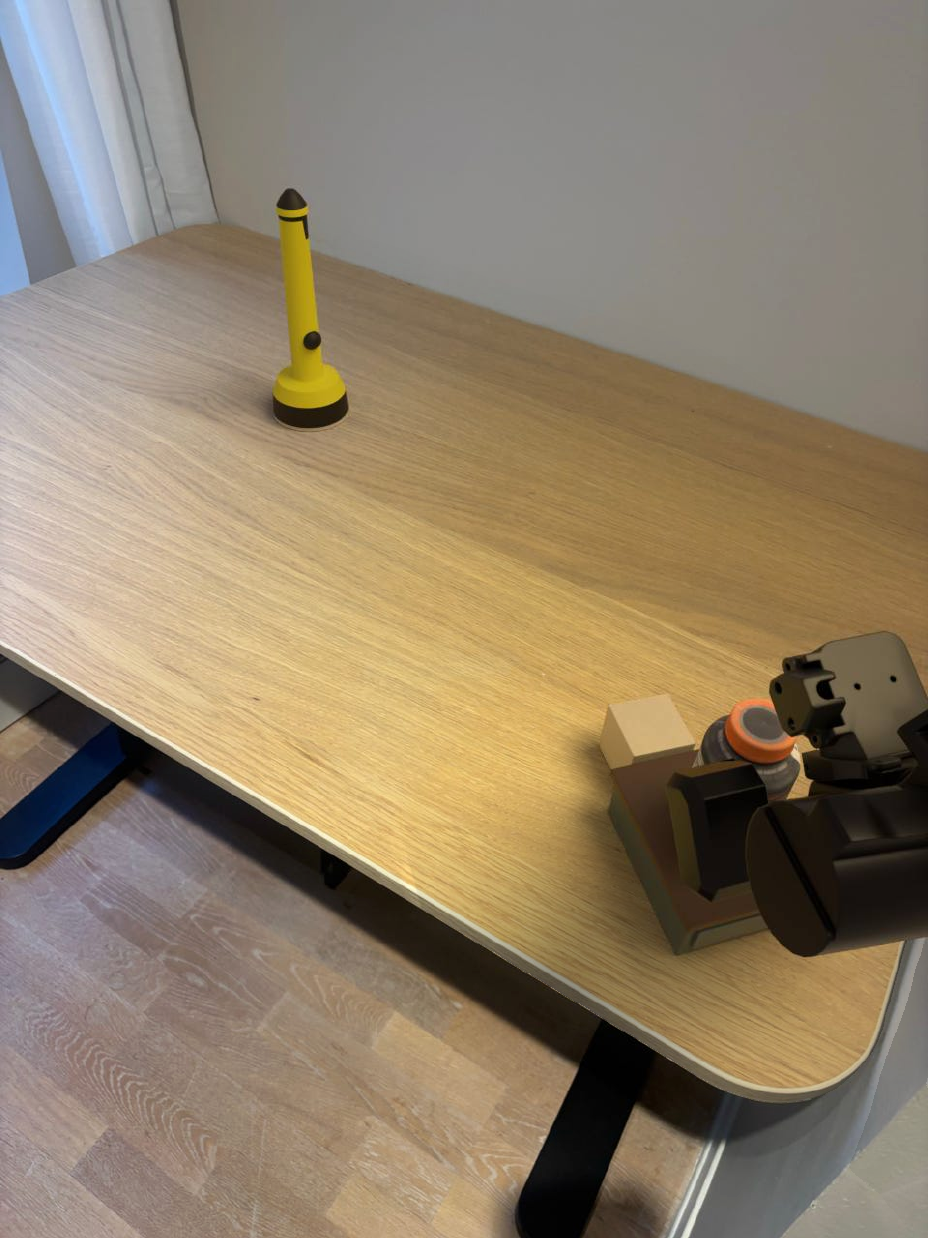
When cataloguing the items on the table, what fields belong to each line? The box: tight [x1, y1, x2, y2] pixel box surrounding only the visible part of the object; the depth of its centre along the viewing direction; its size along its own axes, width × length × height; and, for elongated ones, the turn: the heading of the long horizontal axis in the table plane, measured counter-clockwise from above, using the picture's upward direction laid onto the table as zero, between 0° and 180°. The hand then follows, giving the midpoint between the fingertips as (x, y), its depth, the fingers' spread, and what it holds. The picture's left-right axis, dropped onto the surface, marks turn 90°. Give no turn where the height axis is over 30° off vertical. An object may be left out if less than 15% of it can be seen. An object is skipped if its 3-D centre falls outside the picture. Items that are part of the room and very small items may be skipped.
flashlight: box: [272, 187, 350, 433], centre depth 95 cm, size 25×9×9 cm
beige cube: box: [598, 693, 697, 770], centre depth 67 cm, size 5×5×5 cm
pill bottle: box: [693, 697, 802, 803], centre depth 55 cm, size 6×6×11 cm
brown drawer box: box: [607, 748, 769, 957], centre depth 61 cm, size 12×10×5 cm
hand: (757, 774), depth 53 cm, fingers open, 9 cm apart
